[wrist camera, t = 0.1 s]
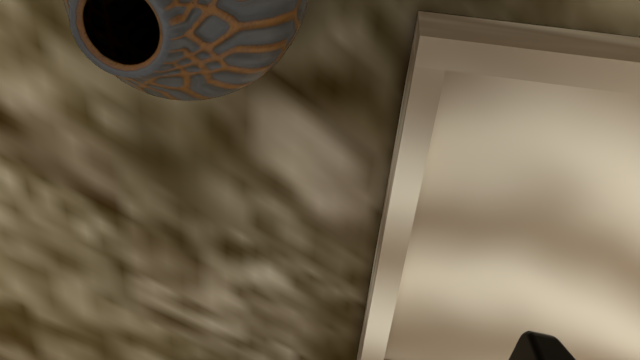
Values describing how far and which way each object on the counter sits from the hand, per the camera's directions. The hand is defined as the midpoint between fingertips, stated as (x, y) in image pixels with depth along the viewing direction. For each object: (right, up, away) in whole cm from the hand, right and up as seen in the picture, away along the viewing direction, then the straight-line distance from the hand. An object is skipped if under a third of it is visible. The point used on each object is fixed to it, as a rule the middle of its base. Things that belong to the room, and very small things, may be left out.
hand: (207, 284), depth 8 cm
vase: (-2, +9, +12) cm, 15 cm away
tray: (+12, -1, +16) cm, 20 cm away
